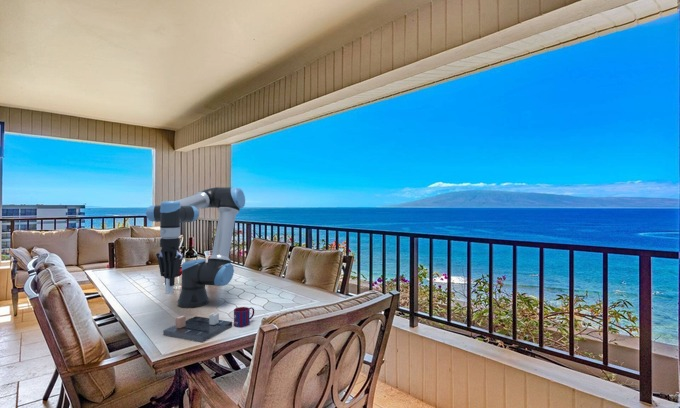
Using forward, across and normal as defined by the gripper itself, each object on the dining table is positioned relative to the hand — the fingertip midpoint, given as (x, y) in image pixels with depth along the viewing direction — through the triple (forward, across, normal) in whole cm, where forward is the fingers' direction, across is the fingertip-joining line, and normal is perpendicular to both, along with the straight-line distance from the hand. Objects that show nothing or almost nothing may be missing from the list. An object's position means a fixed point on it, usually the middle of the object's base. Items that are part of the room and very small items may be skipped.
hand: (169, 293), depth 142 cm
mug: (+16, +25, +18) cm, 35 cm away
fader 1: (+13, +6, 0) cm, 15 cm away
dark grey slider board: (+16, +12, +4) cm, 20 cm away
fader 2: (+13, +16, +8) cm, 23 cm away
